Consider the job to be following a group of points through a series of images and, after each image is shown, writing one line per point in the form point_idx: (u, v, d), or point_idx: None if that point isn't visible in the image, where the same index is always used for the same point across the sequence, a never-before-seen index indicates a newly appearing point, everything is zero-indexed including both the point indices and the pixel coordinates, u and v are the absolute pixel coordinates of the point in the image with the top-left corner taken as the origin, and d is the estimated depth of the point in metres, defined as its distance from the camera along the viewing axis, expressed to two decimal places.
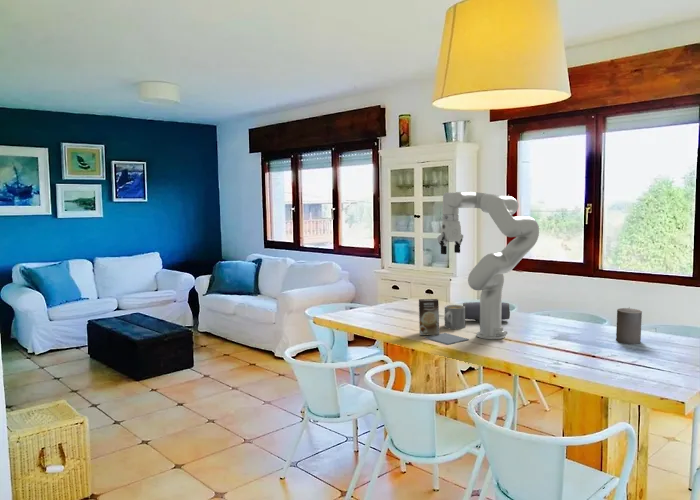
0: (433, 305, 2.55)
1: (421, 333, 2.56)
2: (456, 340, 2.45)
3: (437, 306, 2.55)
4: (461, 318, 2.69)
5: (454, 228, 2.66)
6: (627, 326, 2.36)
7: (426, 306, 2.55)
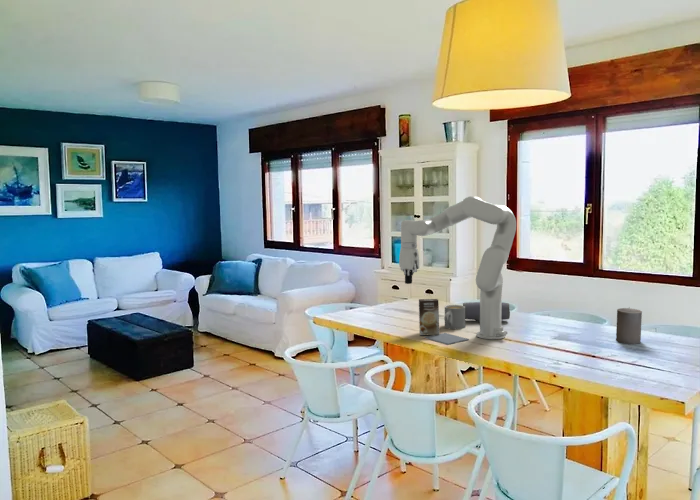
0: (433, 305, 2.55)
1: (421, 333, 2.56)
2: (456, 340, 2.45)
3: (437, 306, 2.55)
4: (461, 318, 2.69)
5: None
6: (627, 326, 2.36)
7: (426, 306, 2.55)
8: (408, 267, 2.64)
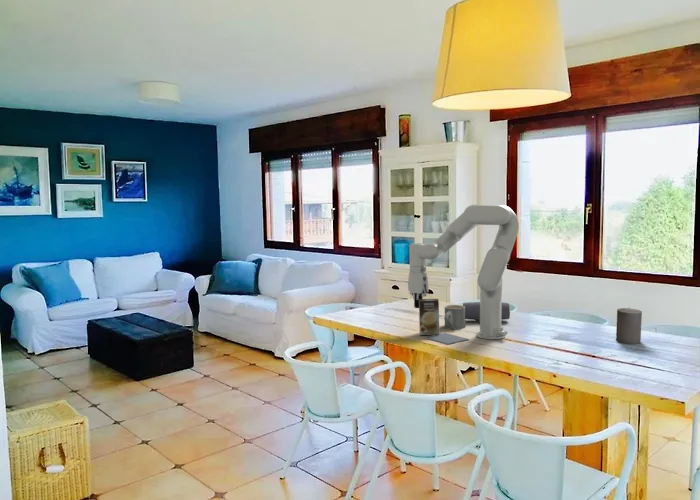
0: (433, 305, 2.54)
1: (421, 333, 2.56)
2: (456, 340, 2.45)
3: (437, 306, 2.54)
4: (461, 318, 2.69)
5: None
6: (627, 326, 2.36)
7: (426, 306, 2.55)
8: (417, 291, 2.60)
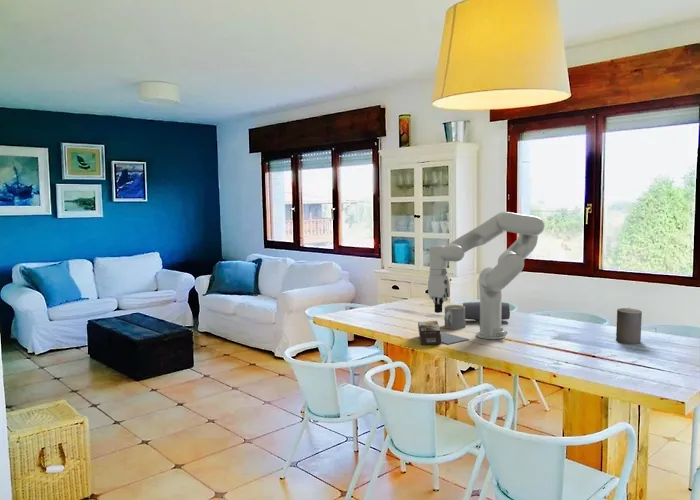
0: None
1: None
2: (456, 340, 2.45)
3: None
4: (461, 318, 2.69)
5: None
6: (627, 326, 2.36)
7: None
8: (438, 295, 2.49)
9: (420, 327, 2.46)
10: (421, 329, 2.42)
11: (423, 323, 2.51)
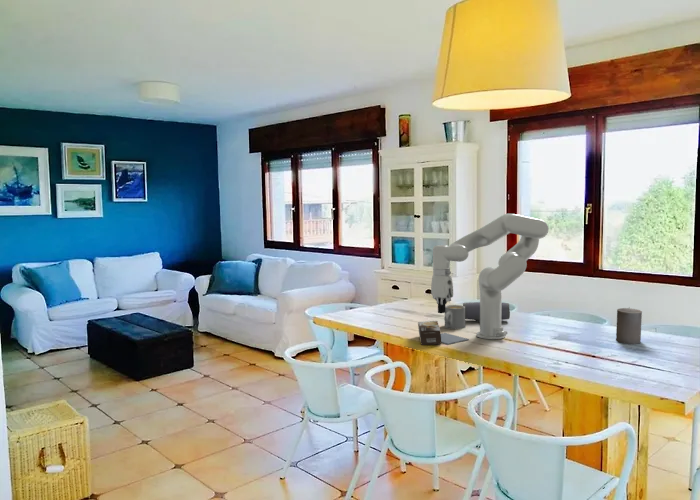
0: None
1: None
2: (456, 340, 2.45)
3: None
4: (461, 318, 2.69)
5: None
6: (627, 326, 2.36)
7: None
8: (441, 296, 2.47)
9: (420, 327, 2.46)
10: (421, 329, 2.42)
11: (423, 323, 2.51)
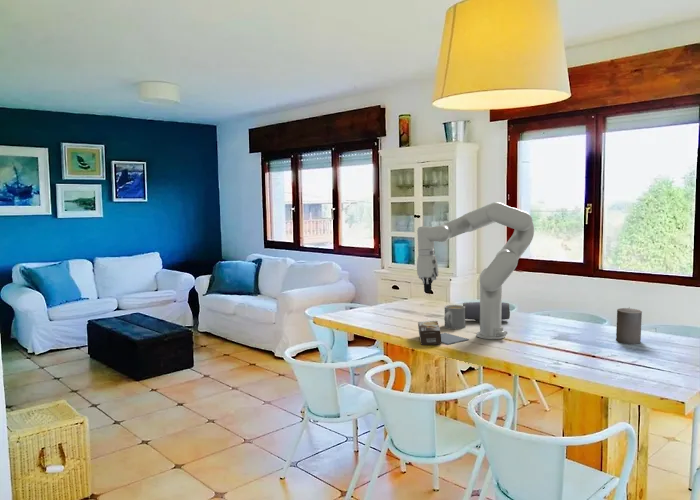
0: None
1: None
2: (456, 340, 2.45)
3: None
4: (461, 318, 2.69)
5: None
6: (627, 326, 2.36)
7: None
8: (427, 275, 2.55)
9: (420, 327, 2.46)
10: (421, 329, 2.42)
11: (423, 323, 2.51)
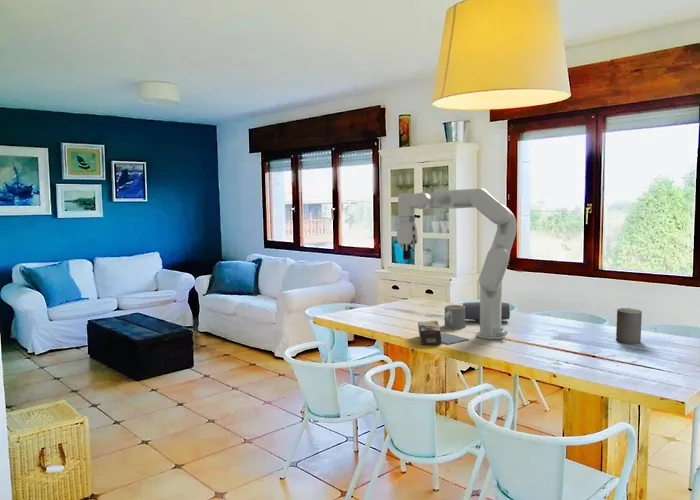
0: None
1: None
2: (456, 340, 2.45)
3: None
4: (461, 318, 2.69)
5: None
6: (627, 326, 2.36)
7: None
8: (406, 242, 2.57)
9: (420, 327, 2.46)
10: (421, 329, 2.42)
11: (423, 323, 2.51)
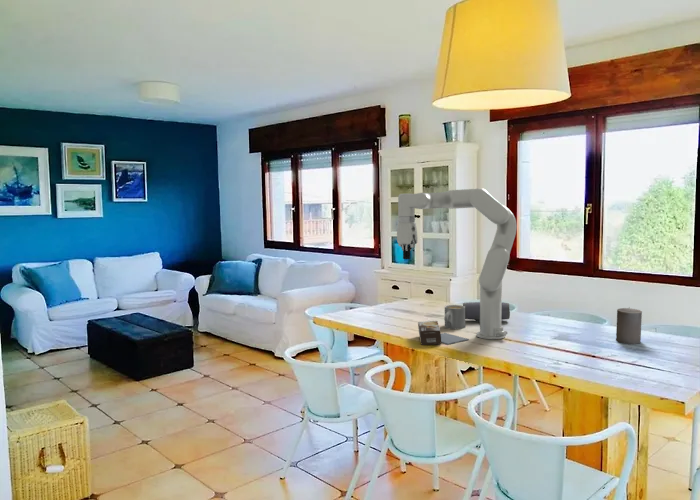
0: None
1: None
2: (456, 340, 2.45)
3: None
4: (461, 318, 2.69)
5: None
6: (627, 326, 2.36)
7: None
8: (406, 242, 2.57)
9: (420, 327, 2.46)
10: (421, 329, 2.42)
11: (423, 323, 2.51)
